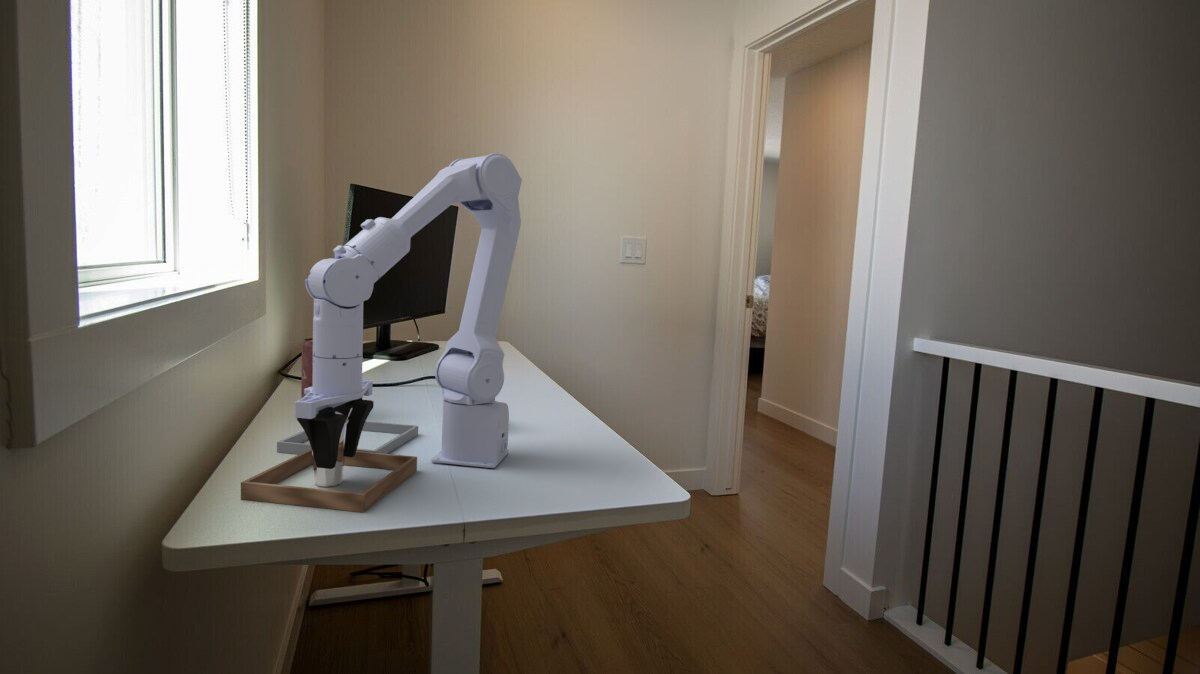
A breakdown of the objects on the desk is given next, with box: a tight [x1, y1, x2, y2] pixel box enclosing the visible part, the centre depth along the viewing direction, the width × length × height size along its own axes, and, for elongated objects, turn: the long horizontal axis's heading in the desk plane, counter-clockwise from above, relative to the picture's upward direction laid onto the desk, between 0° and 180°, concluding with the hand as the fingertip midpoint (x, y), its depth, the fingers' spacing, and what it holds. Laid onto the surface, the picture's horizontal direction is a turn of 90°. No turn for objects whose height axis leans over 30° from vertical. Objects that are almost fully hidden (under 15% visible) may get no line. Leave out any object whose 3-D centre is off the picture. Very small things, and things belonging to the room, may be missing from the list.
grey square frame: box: [276, 420, 419, 455], centre depth 96 cm, size 15×15×2 cm
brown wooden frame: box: [240, 448, 418, 513], centre depth 78 cm, size 15×15×2 cm
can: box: [300, 337, 313, 399], centre depth 109 cm, size 6×6×14 cm
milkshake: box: [312, 408, 353, 488], centre depth 78 cm, size 4×5×10 cm
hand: (336, 461), depth 78 cm, fingers closed on milkshake, 4 cm apart
